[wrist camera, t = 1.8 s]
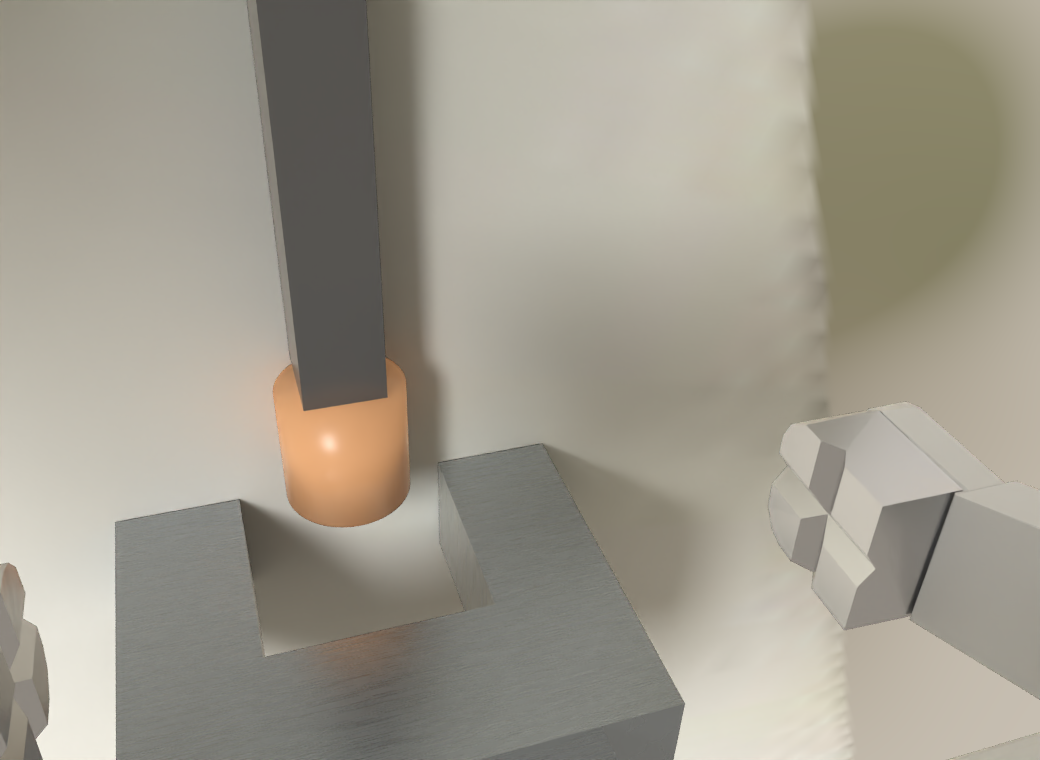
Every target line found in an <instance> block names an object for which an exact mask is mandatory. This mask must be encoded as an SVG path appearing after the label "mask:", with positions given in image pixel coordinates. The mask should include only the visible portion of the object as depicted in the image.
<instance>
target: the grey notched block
mask: <svg viewBox="0 0 1040 760" xmlns="http://www.w3.org/2000/svg"><path fill="white" fill-rule="evenodd" d="M438 486H439V539H440V545H441V548H442V551H443V553H444V556H445V559H446V561H447V564H448V567H449V570H450V572H451V575H452V578H453V580H454V583H455V586H456V588H457V591H458V594H459V597H460V599H461V602H462V605H463V607H464V610H465V611H464V612H460V613H455V614H451V615H447V616H442V617H438V618H433V619H429V620H425V621H420V622H416V623H412V624H407V625H403V626H398V627H394V628H390V629H385V630H381V631H377V632H372V633H368V634H363V635H359V636H355V637H350V638H346V639H342V640H337V641H333V642H328V643H324V644H320V645H315V646H311V647H307V648H302V649H298V650H293V651H289V652H285V653H280V654H276V655H272V656H267V657H265V653H264V647H263V640H262V634H261V627H260V621H259V614H258V608H257V601H256V595H255V588H254V582H253V576H252V570H251V564H250V558H249V553H248V547H247V541H246V535H245V530H244V524H243V518H242V512H241V507H240V501H239V500H234V501H229V502H223V503H218V504H213V505H207V506H202V507H196V508H191V509H185V510H180V511H175V512H169V513H164V514H158V515H153V516H147V517H142V518H137V519H131V520H126V521H120V522H115V600H116V760H673V759H674V754H675V749H676V744H677V739H678V735H679V730H680V725H681V720H682V715H683V710H684V705H685V703H684V701H683V699H682V698H681V696H680V694H679V692H678V690H677V688H676V687H675V685H674V683H673V681H672V679H671V677H670V676H669V674H668V672H667V670H666V668H665V666H664V665H663V663H662V661H661V659H660V657H659V656H658V654H657V652H656V650H655V648H654V646H653V645H652V643H651V641H650V639H649V637H648V635H647V634H646V632H645V630H644V628H643V626H642V624H641V623H640V621H639V619H638V617H637V615H636V614H635V612H634V610H633V608H632V606H631V604H630V603H629V601H628V599H627V597H626V595H625V593H624V592H623V590H622V588H621V586H620V584H619V583H618V581H617V579H616V577H615V575H614V573H613V572H612V570H611V568H610V566H609V564H608V562H607V561H606V559H605V557H604V555H603V553H602V551H601V550H600V548H599V546H598V544H597V542H596V541H595V539H594V537H593V535H592V533H591V531H590V530H589V528H588V526H587V524H586V522H585V520H584V519H583V517H582V515H581V513H580V511H579V510H578V508H577V506H576V504H575V502H574V500H573V499H572V497H571V495H570V493H569V491H568V489H567V488H566V486H565V484H564V482H563V480H562V478H561V477H560V475H559V473H558V471H557V469H556V468H555V466H554V464H553V462H552V460H551V458H550V457H549V455H548V453H547V451H546V449H545V447H544V446H543V444H538V445H532V446H527V447H521V448H516V449H511V450H505V451H500V452H494V453H489V454H483V455H478V456H473V457H467V458H462V459H456V460H451V461H446V462H440V463H438Z"/></svg>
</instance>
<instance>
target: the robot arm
mask: <svg viewBox="0 0 1040 760" xmlns="http://www.w3.org/2000/svg"><path fill="white" fill-rule="evenodd" d="M779 453H780V455H781V457H782V458H783V460H784V461H785V463H786V464H787V466H786V468H785V469H784V470H783V471H782V472H781V473H780V475H779V476H778V477H777V478H776V479H775V480H774V482H773V483H772V487H771V492H770V498H769V503H768V509H769V515H770V521H771V527H772V530H773V533H774V535H775V537H776V539H777V542H778V544H779V546H780V547H781V548H782V550H783V551H784V552H785V554H786V555H787V557H788V558H789V559H790V561H792V562H794V563H796V564H798V565H800V566H802V567H804V568H806V569H808V570H810V571H812V572H813V576H812V589H813V591H814V592H815V593H816V595H817V596H818V597H819V598H820V600H821V601H822V602H823V604H824V605H825V606H826V607H827V609H828V610H829V611H830V613H831V614H832V615H833V617H834V618H835V619H836V620H837V622H838V623H839V624H840V626H841V627H842V628H843V629H844V630H848V629H852V628H857V627H862V626H866V625H871V624H876V623H880V622H885V621H890V620H894V619H899V618H904V617H908V616H911V617H910V620H911V621H912V622H914V623H916V624H917V625H919V626H920V627H922V628H924V629H925V630H927V631H929V632H930V633H932V634H934V635H935V636H937V637H939V638H940V639H942V640H943V641H945V642H946V643H948V644H950V645H951V646H953V647H955V648H956V649H958V650H960V651H961V652H963V653H964V654H966V655H968V656H969V657H971V658H973V659H974V660H976V661H978V662H979V663H981V664H982V665H984V666H986V667H987V668H989V669H991V670H992V671H994V672H995V673H997V674H999V675H1000V676H1002V677H1004V678H1005V679H1007V680H1009V681H1010V682H1012V683H1013V684H1015V685H1017V686H1018V687H1020V688H1022V689H1023V690H1025V691H1026V692H1028V693H1030V694H1031V695H1033V696H1035V697H1036V698H1038V699H1039V700H1040V490H1039V489H1037V488H1034V487H1032V486H1029V485H1026V484H1023V483H1021V482H1018V481H1013V482H1007V483H1005V482H1004V481H1002V480H1001V479H1000V478H999V477H998V476H997V475H996V474H995V473H993V472H992V471H991V470H990V469H989V468H988V467H987V466H986V465H984V464H983V463H982V462H981V461H980V460H979V459H978V458H977V457H975V456H974V455H973V454H972V453H971V452H970V451H968V449H966V448H965V447H964V446H963V445H962V444H961V443H960V442H959V441H957V440H956V439H955V438H954V437H953V436H952V435H951V434H950V433H948V432H947V431H946V430H945V429H944V428H943V427H942V426H941V425H939V424H938V423H937V422H936V421H935V420H934V419H933V418H931V417H930V416H929V415H928V414H927V413H926V412H925V411H924V410H923V409H922V408H920V407H919V406H917V405H914V404H912V403H908V402H900V403H895V404H890V405H885V406H880V407H875V408H870V409H868V410H866V411H858V412H853V413H848V414H842V415H837V416H831V417H826V418H821V419H815V420H810V421H804V422H799V423H794V424H791V425H790V426H789V428H788V429H787V431H786V432H785V433H784V435H783V438H782V443H781V447H780V451H779ZM24 601H25V590H24V588H23V585H22V583H21V580H20V577H19V575H18V572H17V569H16V567H15V566H13V565H11V564H10V563H4V564H0V760H43V759H42V756H41V754H40V751H39V748H38V745H37V742H36V740H35V739H36V738H37V737H38V736H39V734H40V733H41V732H42V731H43V729H44V728H45V727H46V726H47V725H48V713H49V684H48V669H47V663H46V658H45V653H44V648H43V644H42V641H41V638H40V635H39V632H38V628H37V626H35V625H34V624H32V623H30V622H28V621H26V620H25V619H23V610H24ZM948 760H1040V732H1039V733H1035V734H1032V735H1029V736H1025V737H1022V738H1019V739H1015V740H1012V741H1008V742H1005V743H1002V744H998V745H995V746H992V747H988V748H985V749H982V750H978V751H975V752H971V753H968V754H965V755H961V756H958V757H955V758H952V759H948Z"/></svg>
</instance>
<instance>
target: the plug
mask: <svg viewBox="0 0 1040 760" xmlns="http://www.w3.org/2000/svg"><path fill="white" fill-rule="evenodd" d="M247 8H248V16H249V24H250V33H251V41H252V49H253V57H254V66H255V74H256V82H257V90H258V99H259V107H260V115H261V123H262V132H263V140H264V148H265V156H266V165H267V173H268V181H269V189H270V198H271V206H272V214H273V223H274V231H275V239H276V247H277V256H278V264H279V272H280V280H281V289H282V297H283V305H284V313H285V322H286V330H287V338H288V346H289V355H290V359H291V363H292V364H291V365H289V366H288V367H286V368H285V369H284V370H283V371H282V372H281V373H280V375H279V376H278V377H277V379H276V381H275V383H274V386H273V397H274V404H275V411H276V419H277V426H278V433H279V441H280V448H281V455H282V463H283V470H284V477H285V485H286V492H287V498H288V501H289V503H290V505H291V506H292V508H293V509H294V510H295V511H296V512H297V513H298V514H299V515H301V516H302V517H304V518H305V519H307V520H309V521H311V522H314V523H317V524H320V525H324V526H330V527H354V526H361V525H365V524H369V523H372V522H375V521H377V520H379V519H382V518H384V517H386V516H387V515H389V514H391V513H392V512H393V511H395V510H396V509H397V508H398V507H399V506H400V505H401V504H402V503H403V501H404V500H405V498H406V497H407V495H408V492H409V489H410V465H409V440H408V415H407V390H406V378H405V375H404V373H403V371H402V370H401V369H400V367H399V366H398V365H397V364H395V363H394V362H393V361H391V360H390V359H388V358H386V357H385V340H384V321H383V303H382V284H381V266H380V247H379V229H378V210H377V192H376V173H375V155H374V137H373V118H372V100H371V81H370V63H369V44H368V26H367V7H366V0H247Z"/></svg>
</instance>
